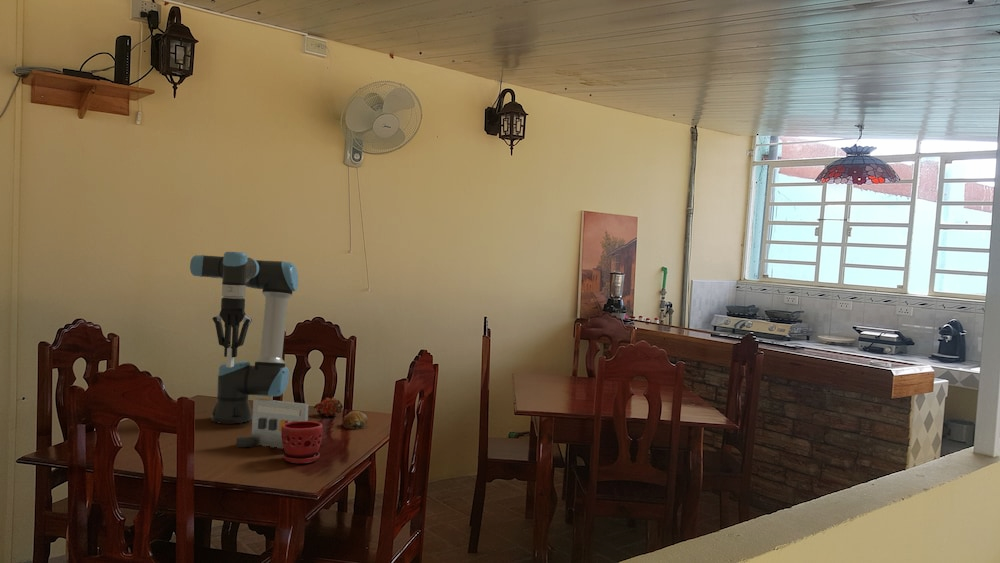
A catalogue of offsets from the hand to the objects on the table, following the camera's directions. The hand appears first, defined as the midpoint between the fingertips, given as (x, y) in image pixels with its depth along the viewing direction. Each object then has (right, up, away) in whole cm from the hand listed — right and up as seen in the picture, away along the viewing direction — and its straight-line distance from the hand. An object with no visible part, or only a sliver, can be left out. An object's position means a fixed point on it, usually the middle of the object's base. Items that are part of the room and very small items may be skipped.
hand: (230, 366), depth 243 cm
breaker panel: (+14, -29, +8) cm, 33 cm away
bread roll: (+34, -30, +44) cm, 63 cm away
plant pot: (+26, -30, -6) cm, 40 cm away
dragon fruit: (+19, -28, +60) cm, 69 cm away
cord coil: (+3, -28, +7) cm, 29 cm away
